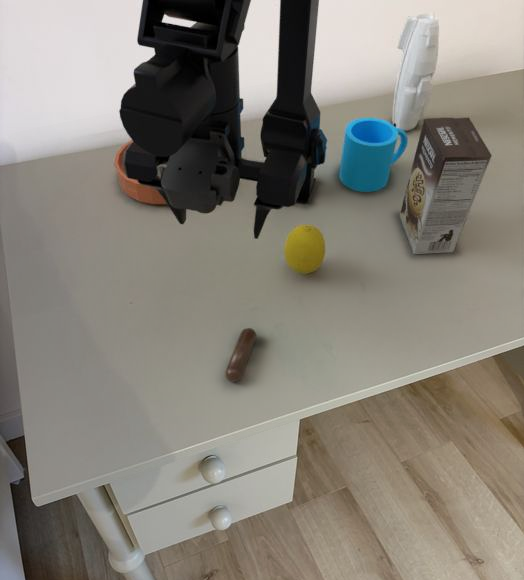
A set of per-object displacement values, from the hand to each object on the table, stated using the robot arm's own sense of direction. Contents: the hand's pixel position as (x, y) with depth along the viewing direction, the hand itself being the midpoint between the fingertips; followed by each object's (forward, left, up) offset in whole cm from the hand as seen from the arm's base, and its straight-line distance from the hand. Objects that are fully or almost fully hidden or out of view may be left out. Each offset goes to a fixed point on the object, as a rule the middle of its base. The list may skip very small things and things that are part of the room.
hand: (219, 229), depth 62 cm
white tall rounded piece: (-18, -51, -12) cm, 55 cm away
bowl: (+18, -23, -12) cm, 32 cm away
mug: (-15, -34, -12) cm, 39 cm away
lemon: (-9, -8, -12) cm, 17 cm away
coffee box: (-25, -21, -12) cm, 35 cm away
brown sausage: (-6, +9, -11) cm, 16 cm away
